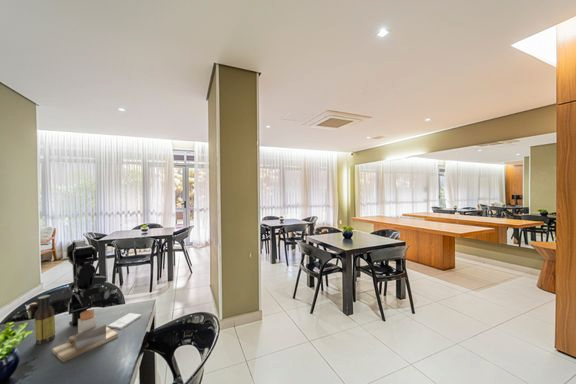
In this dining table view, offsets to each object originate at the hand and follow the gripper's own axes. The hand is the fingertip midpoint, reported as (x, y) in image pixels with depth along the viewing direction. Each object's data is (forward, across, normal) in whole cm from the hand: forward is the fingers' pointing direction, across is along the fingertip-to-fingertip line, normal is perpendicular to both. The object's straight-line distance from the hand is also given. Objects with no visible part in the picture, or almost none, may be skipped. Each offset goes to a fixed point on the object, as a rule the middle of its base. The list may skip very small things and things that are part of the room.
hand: (84, 306), depth 110 cm
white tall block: (+12, -11, +2) cm, 16 cm away
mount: (+13, -10, +2) cm, 17 cm away
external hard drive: (+14, -5, -15) cm, 21 cm away
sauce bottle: (+13, +9, +11) cm, 19 cm away
